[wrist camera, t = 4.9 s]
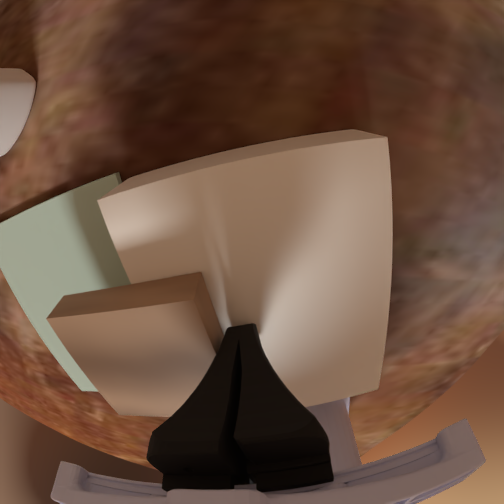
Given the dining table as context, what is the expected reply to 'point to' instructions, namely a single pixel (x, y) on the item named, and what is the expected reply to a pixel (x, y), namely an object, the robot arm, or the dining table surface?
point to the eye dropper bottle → (14, 104)
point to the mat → (60, 259)
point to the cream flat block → (277, 249)
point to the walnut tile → (142, 341)
